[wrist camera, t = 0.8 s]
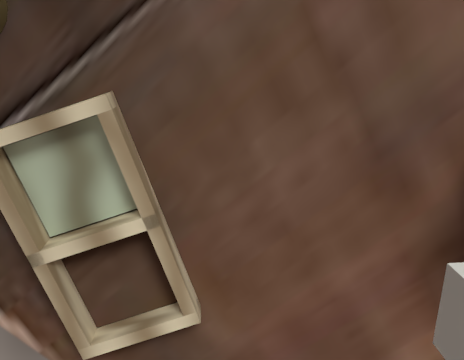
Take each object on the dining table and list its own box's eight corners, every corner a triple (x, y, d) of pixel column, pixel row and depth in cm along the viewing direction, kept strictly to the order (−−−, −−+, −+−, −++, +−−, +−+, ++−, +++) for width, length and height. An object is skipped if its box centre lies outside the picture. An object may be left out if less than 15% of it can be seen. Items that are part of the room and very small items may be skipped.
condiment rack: (90, 341, 40) (83, 360, 37) (-20, 135, 33) (-38, 142, 30) (200, 306, 39) (200, 322, 37) (112, 90, 32) (105, 94, 30)
